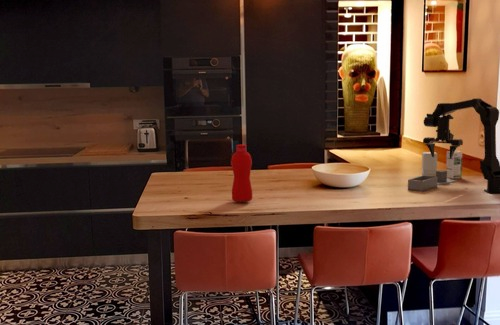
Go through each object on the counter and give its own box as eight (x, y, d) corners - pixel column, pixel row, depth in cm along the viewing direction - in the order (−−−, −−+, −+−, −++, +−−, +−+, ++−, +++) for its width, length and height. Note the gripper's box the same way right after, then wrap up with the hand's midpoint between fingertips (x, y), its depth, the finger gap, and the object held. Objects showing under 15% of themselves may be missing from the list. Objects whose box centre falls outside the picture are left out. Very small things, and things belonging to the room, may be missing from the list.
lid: (438, 186, 260) (438, 173, 259) (425, 184, 266) (426, 171, 265) (456, 182, 269) (457, 170, 268) (443, 180, 275) (444, 168, 274)
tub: (422, 191, 245) (422, 181, 244) (407, 189, 250) (408, 179, 249) (437, 186, 256) (437, 176, 255) (422, 185, 261) (423, 175, 260)
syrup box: (452, 178, 277) (453, 152, 275) (445, 177, 282) (446, 150, 280) (461, 178, 278) (462, 151, 276) (454, 176, 284) (455, 150, 282)
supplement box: (436, 176, 286) (437, 153, 284) (422, 175, 287) (423, 153, 286) (434, 174, 293) (435, 151, 291) (421, 173, 295) (422, 151, 293)
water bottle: (251, 196, 239) (251, 142, 235) (252, 201, 228) (252, 145, 225) (231, 197, 239) (230, 143, 235) (231, 202, 228) (230, 146, 224)
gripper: (467, 127, 263) (466, 158, 265) (432, 125, 276) (431, 154, 278) (458, 129, 255) (457, 160, 257) (423, 127, 268) (421, 157, 270)
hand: (441, 158), depth 266 cm, fingers open, 9 cm apart
